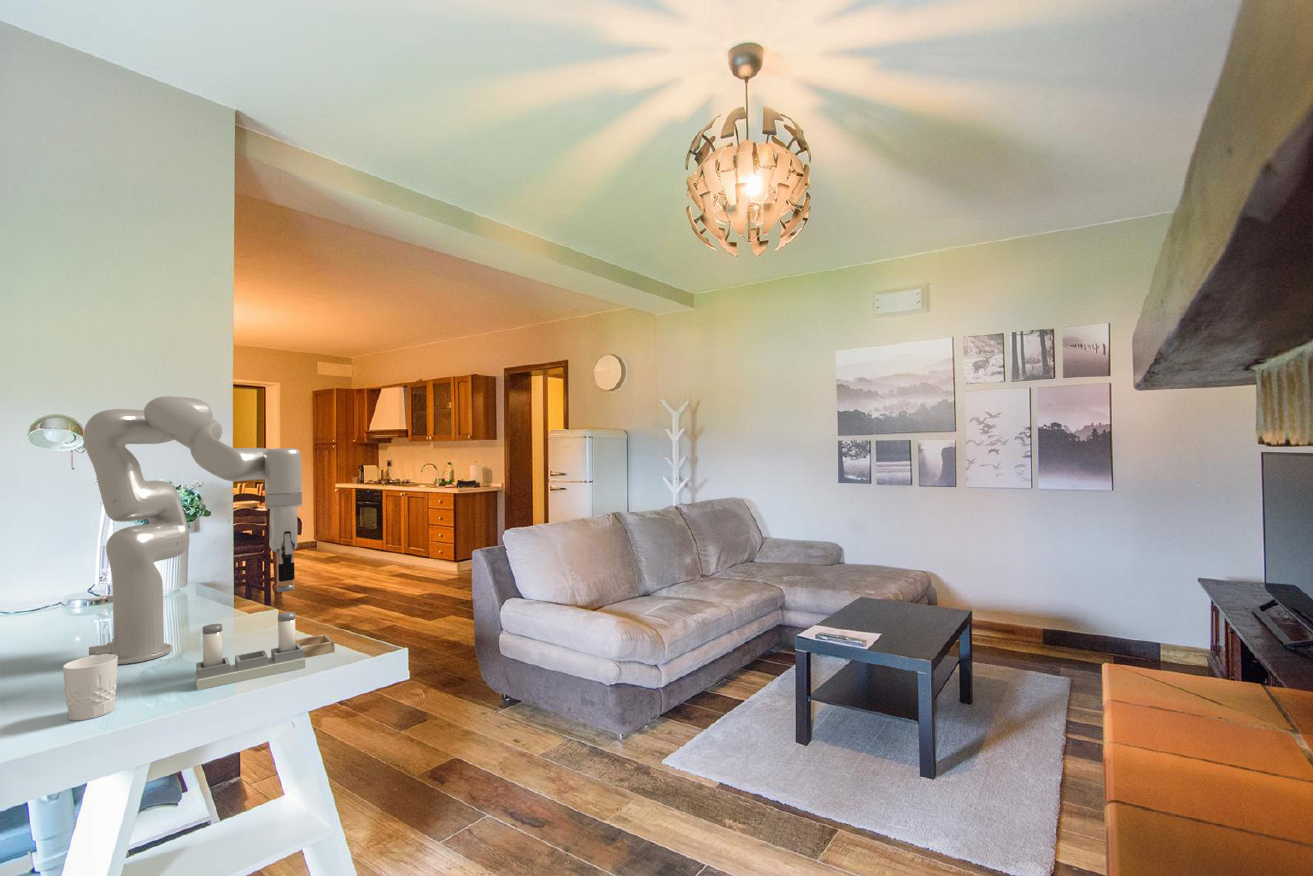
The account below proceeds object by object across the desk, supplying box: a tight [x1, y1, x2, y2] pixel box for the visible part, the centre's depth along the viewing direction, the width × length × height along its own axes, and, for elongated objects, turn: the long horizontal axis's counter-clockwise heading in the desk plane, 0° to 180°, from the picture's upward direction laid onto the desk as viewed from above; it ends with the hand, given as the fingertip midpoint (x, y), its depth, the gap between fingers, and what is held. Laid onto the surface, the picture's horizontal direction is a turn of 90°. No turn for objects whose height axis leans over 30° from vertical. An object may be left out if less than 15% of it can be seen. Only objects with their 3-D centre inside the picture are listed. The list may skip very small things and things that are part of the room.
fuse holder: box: [194, 644, 306, 691], centre depth 143 cm, size 20×7×4 cm, turn 128°
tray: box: [296, 633, 335, 659], centre depth 158 cm, size 8×8×2 cm
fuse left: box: [201, 623, 224, 668], centre depth 139 cm, size 4×4×10 cm
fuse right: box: [277, 611, 297, 653], centre depth 148 cm, size 4×4×10 cm
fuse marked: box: [275, 548, 295, 593], centre depth 152 cm, size 4×4×10 cm
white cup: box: [62, 654, 119, 721], centre depth 124 cm, size 8×8×10 cm
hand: (285, 578), depth 152 cm, fingers closed on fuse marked, 3 cm apart
